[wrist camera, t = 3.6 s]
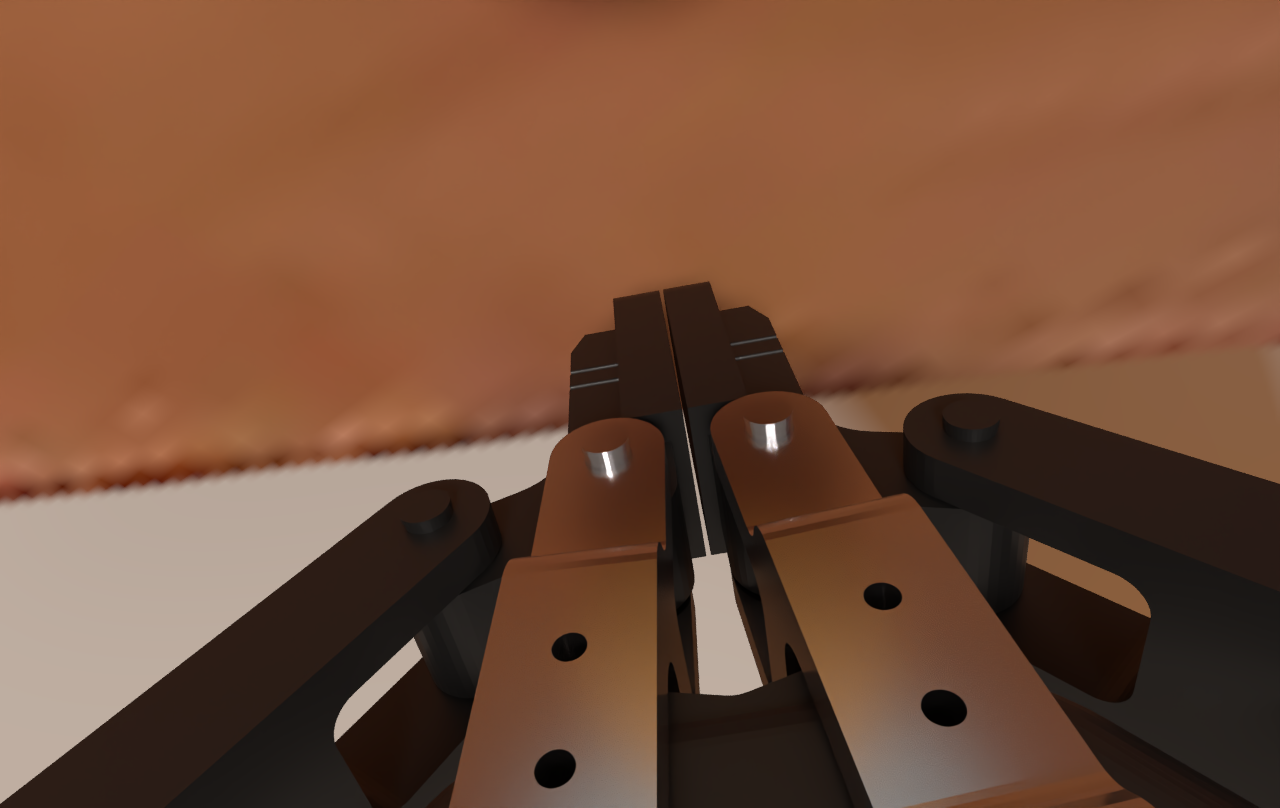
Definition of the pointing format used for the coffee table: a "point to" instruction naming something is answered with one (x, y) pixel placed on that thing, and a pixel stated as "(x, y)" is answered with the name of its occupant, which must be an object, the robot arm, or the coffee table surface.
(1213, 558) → the robot arm
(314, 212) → the coffee table surface
